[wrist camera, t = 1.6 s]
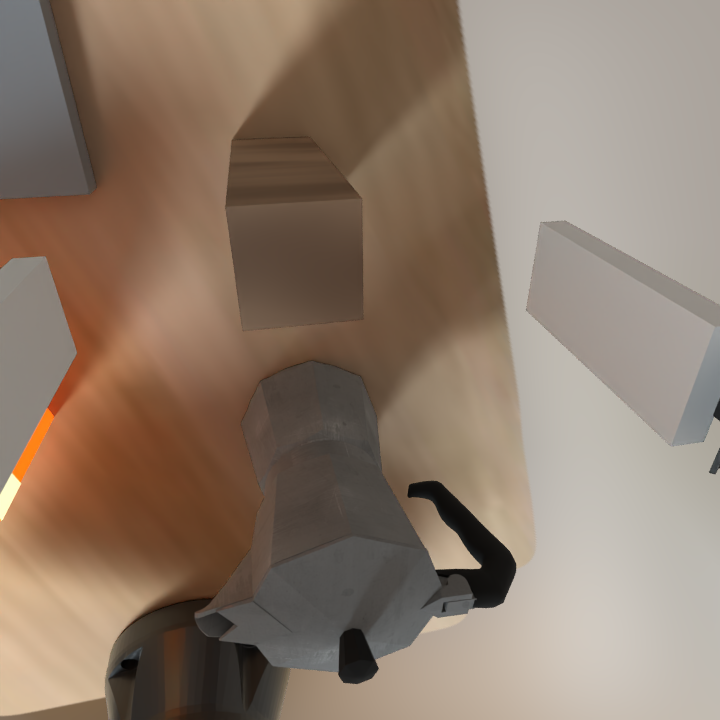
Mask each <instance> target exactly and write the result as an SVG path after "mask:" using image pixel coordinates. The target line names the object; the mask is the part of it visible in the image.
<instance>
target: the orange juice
mask: <svg viewBox="0 0 720 720" xmlns="http://www.w3.org/2000/svg"><path fill="white" fill-rule="evenodd" d="M53 418H54V416H53V415H52V413H51V412H50V411H49V409H48V408H47V409H46V411H45V413H44V415H43V417H42V419H41V420H40V422H39V424H38V426H37V428H36V430H35V431H34V433H33V435H32V437H31V439H30V441H29V442H28V444H27V446H26V448H25V450H24V452H23V453H22V455H21V457H20V459H19V461H18V463H17V465H16V466H15V468H14V470H13V472H12V474H11V476H10V477H9V479H8V481H7V483H6V485H5V487H4V488H3V490H2V492H1V494H0V521H1V520H3V518H4V516H5V514H6V512H7V510H8V508H9V506H10V504H11V502H12V500H13V498H14V496H15V495H16V493H17V491H18V489H19V487H20V485H21V483H20V482H21V480H22V478H23V476H24V474H25V473H26V471H27V469H28V467H29V465H30V463H31V461H32V459H33V457H34V455H35V453H36V451H37V449H38V447H39V445H40V443H41V441H42V440H43V438H44V436H45V434H46V432H47V430H48V428H49V426H50V424H51V422H52V420H53Z"/></svg>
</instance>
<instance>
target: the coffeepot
mask: <svg viewBox="0 0 720 720" xmlns="http://www.w3.org/2000/svg"><path fill="white" fill-rule="evenodd" d="M241 426H242V430H243V433H244V437H245V440H246V444H247V447H248V450H249V454H250V457H251V461H252V464H253V467H254V471H255V474H256V478H257V481H258V484H259V486H260V488H261V490H262V493H263V495H264V496H265V497H264V499H263V501H262V503H261V506H260V508H259V510H258V512H257V516H256V522H255V528H254V534H253V540H252V546H251V549H250V550H249V551H248V553H247V554H246V556H245V557H244V559H243V560H242V561H241V563H240V564H239V566H238V567H237V568H236V570H235V571H234V573H233V574H232V575H231V577H230V578H229V580H228V581H227V582H226V584H225V585H224V586H223V588H222V589H221V590H220V591H219V593H218V594H217V595H216V596H215V598H214V599H213V600H212V601H211V603H210V604H209V605H207V606H206V607H205V608H203V609H201V610H199V611H197V612H195V620H196V623H197V625H198V627H199V629H200V630H201V631H202V632H203V633H204V634H205V635H206V636H207V637H220V638H219V641H226V642H234V643H242V644H250V645H256V646H257V647H258V649H259V650H260V651H261V652H262V654H263V655H264V656H265V657H266V658H267V660H268V661H269V662H270V663H271V665H272V666H276V667H287V668H297V669H308V670H319V671H329V672H338V675H339V677H340V678H341V680H342V681H343V683H352V684H358V683H361V682H364V681H366V680H369V679H371V678H372V677H373V676H374V675H375V673H376V672H377V671H378V669H379V668H378V666H377V663H376V661H375V659H378V658H380V657H383V656H385V655H388V654H390V653H393V652H395V651H398V650H400V649H403V648H406V647H408V646H410V645H411V644H412V642H413V641H414V640H415V639H416V637H417V636H418V635H419V633H420V632H421V631H422V629H423V628H424V627H425V625H426V624H427V623H428V622H429V620H430V619H431V618H432V616H435V617H438V618H439V617H446V616H454V615H461V614H468V610H469V609H474V608H492V607H496V606H498V605H500V604H502V603H503V602H504V600H505V597H506V595H507V593H508V590H509V588H510V586H511V583H512V581H513V579H514V576H515V573H516V562H515V560H514V558H513V556H512V554H511V553H510V551H509V550H508V549H507V548H506V547H505V546H504V545H503V544H502V543H501V542H500V541H499V540H498V539H497V538H496V537H495V536H494V535H492V534H491V533H490V532H489V531H488V530H487V529H486V528H485V527H484V526H483V525H482V524H481V523H480V522H479V521H478V520H477V519H476V518H475V516H474V515H473V514H472V513H471V512H470V511H469V510H468V509H467V508H466V507H465V506H464V505H463V504H462V503H461V502H460V501H459V500H458V499H457V498H456V497H455V496H453V495H452V494H451V493H450V492H449V491H448V490H447V489H446V488H445V487H444V486H443V485H442V484H441V483H440V482H438V481H425V482H418V483H413V484H410V485H409V489H408V497H409V498H411V497H419V498H426V499H429V500H431V501H432V502H433V503H434V504H435V506H436V508H437V511H438V513H439V515H440V517H441V518H442V520H443V521H444V522H445V523H446V524H447V526H449V527H450V528H451V529H453V530H454V531H455V532H456V533H457V534H458V535H459V537H460V539H461V540H462V542H463V544H464V545H465V547H466V548H467V550H468V551H469V552H470V554H471V555H472V556H473V557H474V558H475V559H476V560H477V561H478V562H479V563H480V564H481V565H482V567H481V568H480V569H444V570H435V568H434V566H433V563H432V561H431V558H430V556H429V553H428V551H427V549H426V548H425V547H424V545H423V544H422V542H421V540H420V538H419V537H418V535H417V533H416V531H415V530H414V528H413V526H412V525H411V523H410V521H409V519H408V518H407V516H406V514H405V512H404V511H403V509H402V507H401V505H400V504H399V502H398V500H397V498H396V497H395V495H394V493H393V492H392V490H391V488H390V486H389V485H388V483H387V481H386V479H385V478H384V476H383V474H382V467H381V456H380V446H379V436H378V425H377V416H376V413H375V411H374V408H373V406H372V403H371V401H370V398H369V396H368V393H367V391H366V388H365V386H364V383H363V381H362V378H361V377H360V376H358V375H355V374H353V373H350V372H347V371H345V370H343V369H341V368H338V367H336V366H332V365H327V364H321V363H318V362H315V361H309V362H306V363H302V364H299V365H296V366H292V367H289V368H286V369H284V370H282V371H280V372H278V373H276V374H274V375H273V376H271V377H269V378H267V379H264V380H262V381H260V383H259V385H258V387H257V389H256V392H255V393H254V395H253V397H252V398H251V400H250V403H249V406H248V409H247V411H246V414H245V416H244V418H243V420H242V422H241Z"/></svg>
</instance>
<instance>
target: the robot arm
mask: <svg viewBox="0 0 720 720" xmlns="http://www.w3.org/2000/svg"><path fill="white" fill-rule="evenodd" d="M526 311H528V312H529V314H531V315H532V316H533V317H534V318H535V319H536V320H537V321H538V322H539V323H540V324H541V325H542V326H543V327H544V328H545V329H547V330H548V331H549V332H550V333H551V334H552V335H553V336H554V337H555V338H556V339H557V340H558V341H559V342H560V343H561V344H562V345H564V346H565V347H566V348H567V349H568V350H569V351H570V352H571V353H572V354H573V355H574V356H575V357H576V358H578V360H580V361H581V362H582V363H583V364H584V365H585V366H586V367H587V368H588V369H589V370H590V371H591V372H592V373H593V374H594V375H595V376H597V377H598V378H599V379H600V380H601V381H602V382H603V383H604V384H605V385H606V386H607V387H608V388H609V389H610V390H611V391H613V392H614V393H615V394H616V395H617V396H618V397H619V398H620V399H621V400H622V401H623V402H624V403H625V404H626V405H627V406H628V407H630V408H631V409H632V410H633V411H634V412H635V413H636V414H637V415H638V416H639V417H640V418H641V419H642V420H643V421H644V422H645V423H646V424H648V425H649V426H650V427H651V428H652V429H653V430H654V431H655V432H656V433H657V434H658V435H659V436H660V437H661V438H662V439H664V440H665V441H666V442H667V443H668V444H669V445H670V446H677V445H684V444H691V443H698V442H704V440H705V438H706V435H707V433H708V430H709V427H710V425H711V423H712V420H713V418H714V417H715V418H717V419H718V420H719V421H720V305H719V304H717V303H715V302H713V301H711V300H710V299H708V298H706V297H704V296H702V295H700V294H699V293H697V292H695V291H693V290H691V289H689V288H687V287H686V286H684V285H682V284H680V283H678V282H677V281H675V280H673V279H671V278H669V277H667V276H665V275H664V274H662V273H660V272H658V271H656V270H655V269H653V268H651V267H649V266H647V265H645V264H644V263H642V262H640V261H638V260H636V259H634V258H633V257H631V256H629V255H627V254H625V253H623V252H622V251H620V250H618V249H616V248H614V247H612V246H611V245H609V244H607V243H605V242H603V241H601V240H600V239H598V238H596V237H594V236H592V235H591V234H589V233H587V232H585V231H583V230H581V229H580V228H578V227H576V226H574V225H572V224H570V223H568V222H567V221H556V222H541V223H540V229H539V235H538V242H537V247H536V254H535V259H534V265H533V271H532V277H531V284H530V290H529V296H528V302H527V308H526ZM76 354H77V351H76V348H75V345H74V342H73V339H72V336H71V333H70V329H69V326H68V323H67V320H66V317H65V314H64V311H63V308H62V305H61V302H60V299H59V296H58V293H57V290H56V286H55V283H54V280H53V277H52V274H51V271H50V268H49V265H48V262H47V259H46V256H41V257H27V258H12V259H11V260H10V261H9V262H8V263H7V264H6V265H4V266H3V267H2V268H1V269H0V494H1V492H2V490H3V488H4V487H5V485H6V483H7V481H8V479H9V477H10V476H11V474H12V472H13V470H14V468H15V466H16V465H17V463H18V461H19V459H20V457H21V455H22V453H23V452H24V450H25V448H26V446H27V444H28V442H29V441H30V439H31V437H32V435H33V433H34V431H35V430H36V428H37V426H38V424H39V422H40V420H41V419H42V417H43V415H44V413H45V411H46V409H47V408H48V406H49V404H50V402H51V400H52V398H53V396H54V395H55V393H56V391H57V389H58V387H59V385H60V384H61V382H62V380H63V378H64V376H65V374H66V373H67V371H68V369H69V367H70V365H71V363H72V362H73V360H74V358H75V356H76ZM719 468H720V448H719V451H718V453H717V455H716V458H715V460H714V462H713V465H712V467H711V469H710V471H709V473H712V474H716V472H717V470H718V469H719ZM212 600H213V599H209V600H196V601H189V602H184V603H179V604H175V605H171V606H168V607H165V608H162V609H160V610H157V611H155V612H152V613H150V614H148V615H146V616H145V617H143V618H141V619H139V620H138V621H136V622H135V623H133V624H132V625H131V626H130V627H128V628H127V629H126V630H125V631H124V632H123V633H122V634H121V635H120V637H119V638H118V639H117V641H116V642H115V644H114V646H113V648H112V651H111V654H110V659H109V664H108V668H107V673H106V678H105V695H106V702H107V710H108V718H109V720H279V718H280V713H281V710H282V705H283V701H284V697H285V693H286V688H287V684H288V680H289V675H290V668H287V667H276V666H272V665H271V663H270V662H269V661H268V660H267V658H266V657H265V656H264V655H263V654H262V652H261V651H260V650H259V649H258V647H257V646H256V645H250V644H242V643H234V642H226V641H219V638H220V637H207V636H206V635H205V634H204V633H203V632H202V631H201V630H200V629H199V627H198V625H197V623H196V620H195V612H197V611H199V610H201V609H203V608H205V607H206V606H207V605H209V604H210V603H211V601H212Z"/></svg>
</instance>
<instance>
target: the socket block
mask: <svg viewBox="0 0 720 720" xmlns="http://www.w3.org/2000/svg"><path fill="white" fill-rule="evenodd" d="M96 188H97V186H96V182H95V179H94V175H93V171H92V167H91V163H90V159H89V155H88V151H87V147H86V143H85V139H84V135H83V131H82V127H81V123H80V119H79V115H78V112H77V108H76V104H75V100H74V96H73V92H72V88H71V84H70V80H69V76H68V72H67V68H66V64H65V60H64V56H63V52H62V48H61V44H60V41H59V37H58V33H57V29H56V25H55V21H54V17H53V13H52V9H51V5H50V1H49V0H0V199H13V198H32V197H50V196H69V195H87V194H91V193H92V192H93V191H94V190H95V189H96Z"/></svg>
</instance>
